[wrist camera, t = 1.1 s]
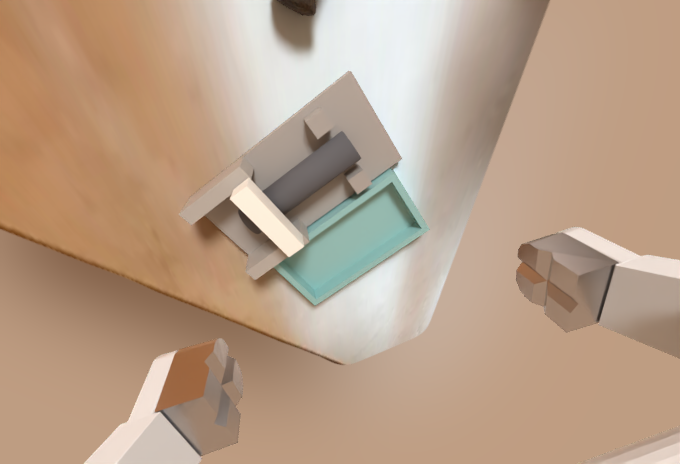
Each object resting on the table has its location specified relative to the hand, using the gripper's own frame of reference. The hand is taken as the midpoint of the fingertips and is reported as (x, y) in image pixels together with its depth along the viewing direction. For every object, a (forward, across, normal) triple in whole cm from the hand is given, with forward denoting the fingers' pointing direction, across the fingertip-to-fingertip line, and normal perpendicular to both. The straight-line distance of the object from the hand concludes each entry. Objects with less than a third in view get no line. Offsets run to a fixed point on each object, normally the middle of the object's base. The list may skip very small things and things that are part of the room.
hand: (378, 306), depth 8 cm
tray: (+29, -2, +14) cm, 32 cm away
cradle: (+29, +2, +5) cm, 29 cm away
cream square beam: (+24, +5, +6) cm, 25 cm away
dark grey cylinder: (+28, +2, +5) cm, 28 cm away
